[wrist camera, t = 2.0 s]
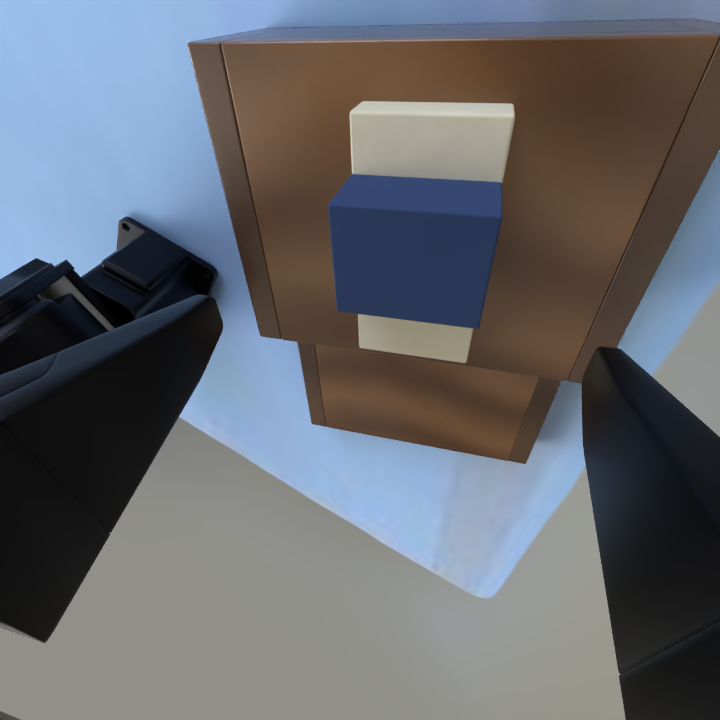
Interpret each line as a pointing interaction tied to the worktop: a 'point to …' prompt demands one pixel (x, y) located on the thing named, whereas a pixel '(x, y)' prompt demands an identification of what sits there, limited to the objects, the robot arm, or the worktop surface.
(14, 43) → the worktop surface
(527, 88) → the brown wooden cabinet
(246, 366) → the worktop surface
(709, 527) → the robot arm
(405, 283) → the blue sleeved eraser
